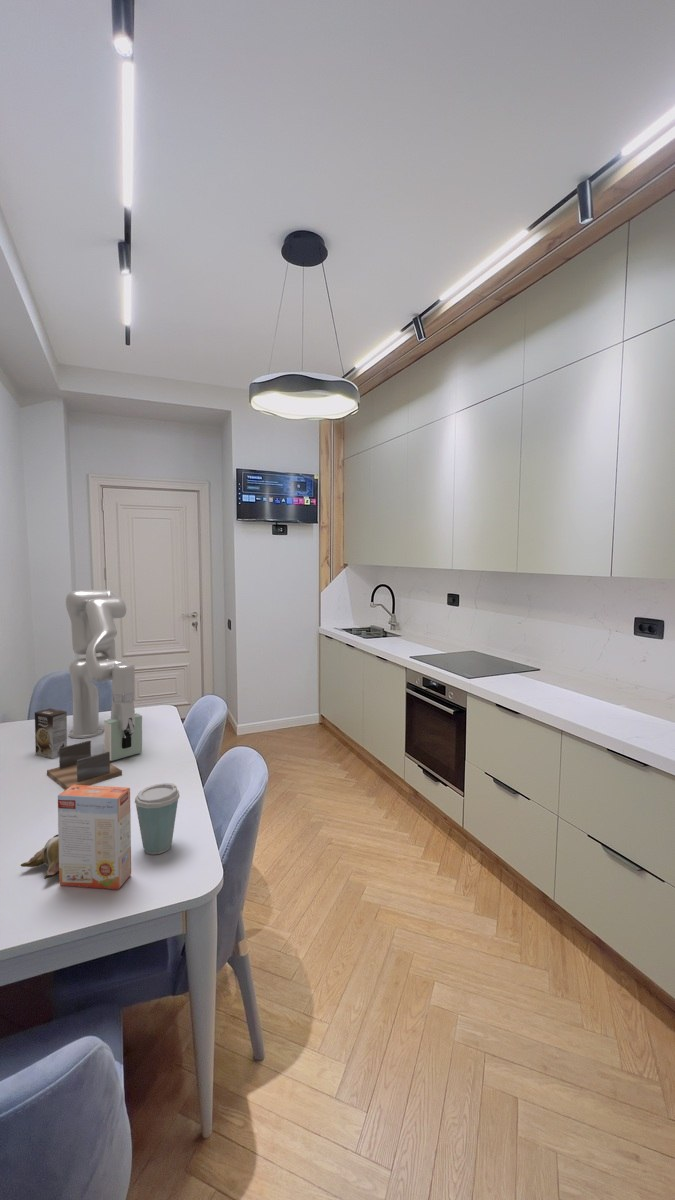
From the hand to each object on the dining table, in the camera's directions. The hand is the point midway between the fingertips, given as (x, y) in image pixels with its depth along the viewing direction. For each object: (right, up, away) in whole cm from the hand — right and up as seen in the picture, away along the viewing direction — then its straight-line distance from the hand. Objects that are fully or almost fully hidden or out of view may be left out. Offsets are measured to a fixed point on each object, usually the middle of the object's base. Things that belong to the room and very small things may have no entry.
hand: (123, 745), depth 182 cm
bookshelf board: (-7, -5, -15) cm, 17 cm away
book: (0, -4, 0) cm, 4 cm away
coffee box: (-28, -4, +2) cm, 28 cm away
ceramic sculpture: (+13, -10, -64) cm, 66 cm away
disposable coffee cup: (+33, -9, -57) cm, 66 cm away
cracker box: (+24, -10, -70) cm, 75 cm away
